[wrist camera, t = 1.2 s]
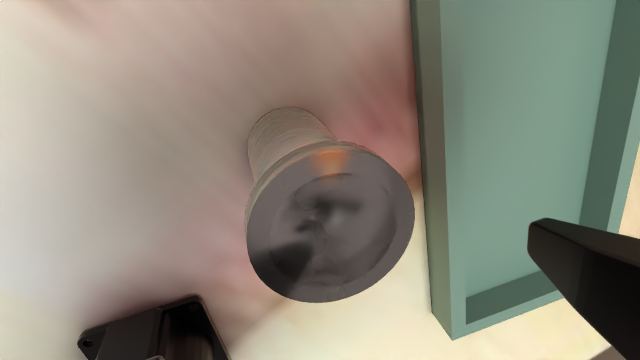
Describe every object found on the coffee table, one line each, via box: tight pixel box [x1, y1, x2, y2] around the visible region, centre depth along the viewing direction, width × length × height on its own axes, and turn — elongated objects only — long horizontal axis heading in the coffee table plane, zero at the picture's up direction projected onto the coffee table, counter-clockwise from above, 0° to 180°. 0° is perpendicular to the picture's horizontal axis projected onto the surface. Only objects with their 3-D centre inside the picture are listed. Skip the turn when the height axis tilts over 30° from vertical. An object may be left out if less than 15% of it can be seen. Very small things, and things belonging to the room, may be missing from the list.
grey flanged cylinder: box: [244, 107, 415, 303], centre depth 14 cm, size 5×5×8 cm
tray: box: [410, 0, 640, 341], centre depth 20 cm, size 22×12×2 cm, turn 12°
